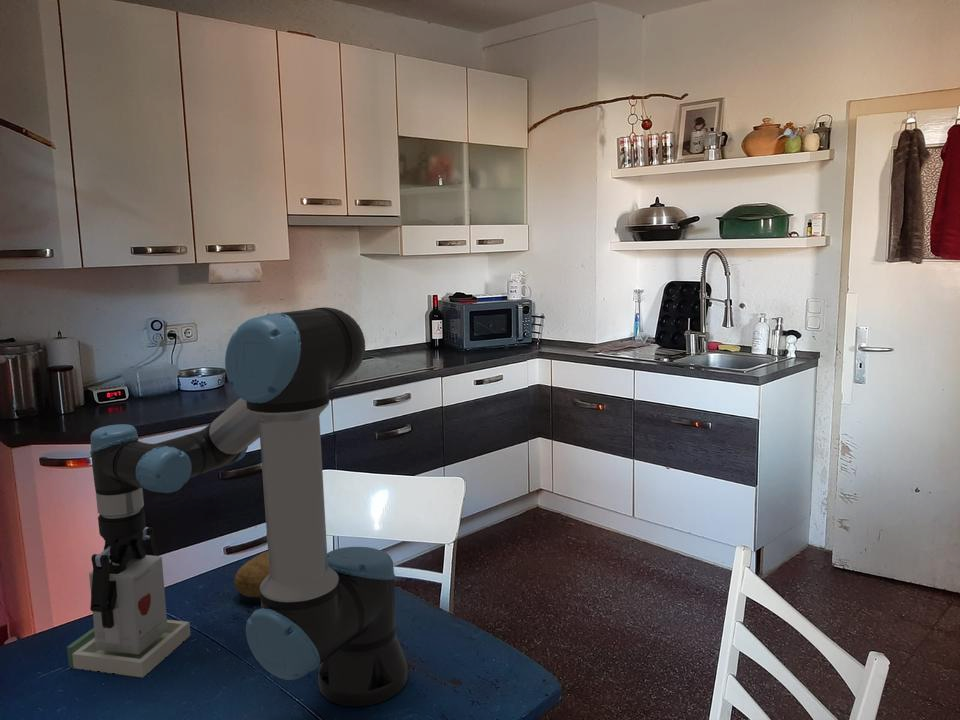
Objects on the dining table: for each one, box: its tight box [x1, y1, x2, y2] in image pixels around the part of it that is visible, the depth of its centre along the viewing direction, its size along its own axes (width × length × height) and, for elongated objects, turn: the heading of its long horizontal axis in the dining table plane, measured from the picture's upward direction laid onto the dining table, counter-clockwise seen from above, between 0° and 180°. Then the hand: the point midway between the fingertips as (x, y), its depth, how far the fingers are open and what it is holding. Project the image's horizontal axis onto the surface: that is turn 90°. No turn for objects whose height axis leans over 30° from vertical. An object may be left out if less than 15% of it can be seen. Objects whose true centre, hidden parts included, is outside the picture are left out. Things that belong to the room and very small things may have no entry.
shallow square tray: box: [66, 619, 191, 678], centre depth 137 cm, size 15×14×4 cm
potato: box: [233, 550, 270, 599], centre depth 159 cm, size 10×14×8 cm
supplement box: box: [88, 555, 168, 655], centre depth 136 cm, size 9×9×15 cm
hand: (132, 627), depth 137 cm, fingers closed on supplement box, 9 cm apart
